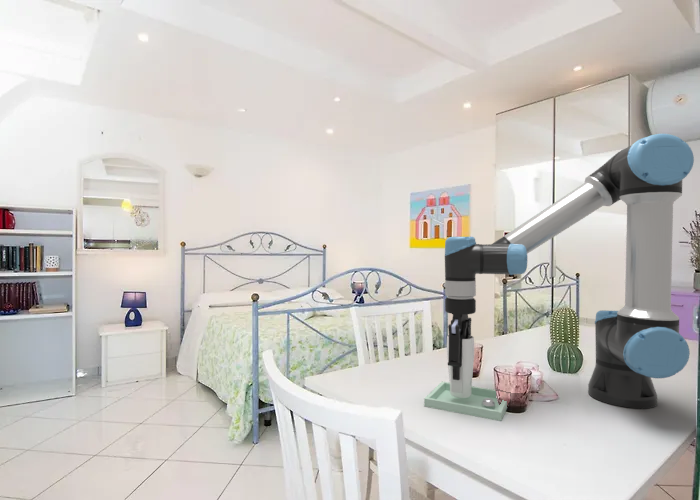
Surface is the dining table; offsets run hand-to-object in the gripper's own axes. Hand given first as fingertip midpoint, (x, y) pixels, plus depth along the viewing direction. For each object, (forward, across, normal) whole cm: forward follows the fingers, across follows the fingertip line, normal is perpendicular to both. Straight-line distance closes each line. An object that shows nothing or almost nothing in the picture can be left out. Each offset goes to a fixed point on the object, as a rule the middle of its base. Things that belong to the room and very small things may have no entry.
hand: (460, 387), depth 104 cm
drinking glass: (+2, 0, 0) cm, 2 cm away
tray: (+4, 0, +2) cm, 5 cm away
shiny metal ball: (+4, +4, +7) cm, 9 cm away
